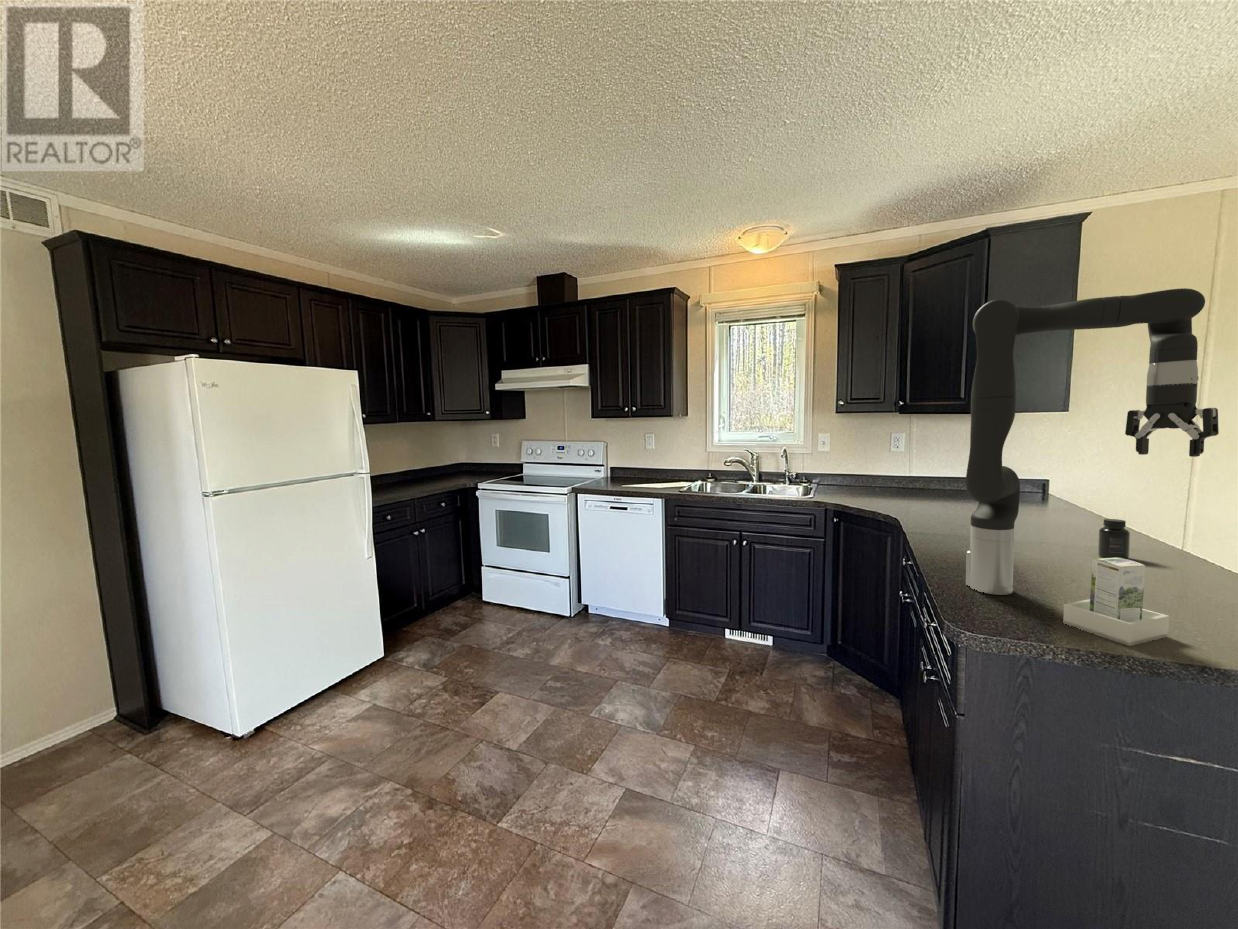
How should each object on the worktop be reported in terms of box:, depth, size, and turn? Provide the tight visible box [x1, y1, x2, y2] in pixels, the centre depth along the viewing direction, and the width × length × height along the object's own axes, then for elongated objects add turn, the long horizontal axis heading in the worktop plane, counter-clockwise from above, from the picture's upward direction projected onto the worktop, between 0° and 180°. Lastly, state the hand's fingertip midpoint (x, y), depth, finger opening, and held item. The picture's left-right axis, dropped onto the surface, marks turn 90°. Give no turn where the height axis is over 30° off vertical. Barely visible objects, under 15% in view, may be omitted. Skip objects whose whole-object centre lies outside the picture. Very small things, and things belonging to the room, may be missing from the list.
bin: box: [1062, 598, 1170, 647], centre depth 104 cm, size 12×12×4 cm
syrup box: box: [1089, 558, 1147, 622], centre depth 103 cm, size 6×6×14 cm
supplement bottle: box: [1097, 518, 1131, 560], centre depth 151 cm, size 7×7×12 cm
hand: (1168, 455), depth 109 cm, fingers open, 8 cm apart
